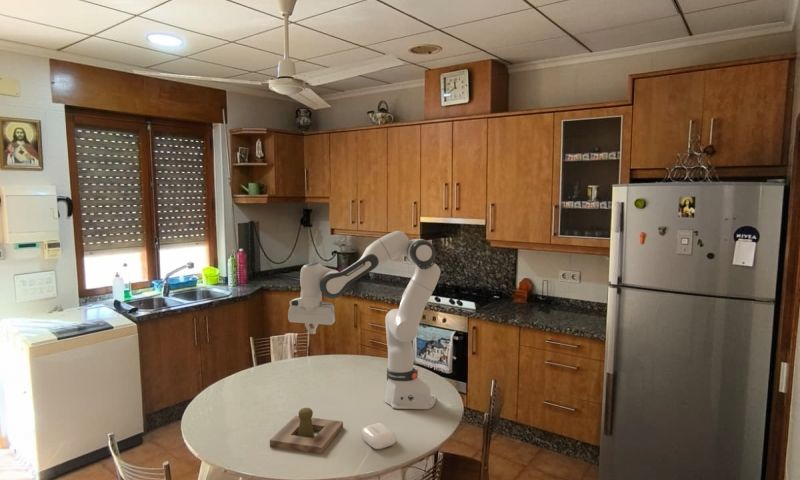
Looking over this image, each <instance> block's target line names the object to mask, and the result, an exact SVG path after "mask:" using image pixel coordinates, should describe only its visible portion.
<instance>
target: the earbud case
mask: <svg viewBox="0 0 800 480" xmlns="http://www.w3.org/2000/svg"><path fill="white" fill-rule="evenodd" d="M360 433H361V438H362V439H363V441H364V442H365V443H366V444H368V446H370V447H371V449H372V448H373V449H374V450H382V449H386V448H388V447H390V446H393V445H394V444H396V441H397V436H396V433H395V431H393V430H392V429H391V428H389V427H388V426H387V425H386V424H385V423H382V422H377V423H372V424H370V425H366V426H364V427H363V428H362V429H361V432H360Z"/></svg>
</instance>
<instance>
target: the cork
mask: <svg viewBox="0 0 800 480" xmlns="http://www.w3.org/2000/svg"><path fill="white" fill-rule="evenodd" d="M313 413H314V412H313V409H312V408H310V407H302V408H301V409H299V411H298V416H299V418H300V424H299V432H298V434H297V436H302V437H309V438H315V437H314V436H315V431H313V426H312V419H311V418H313Z"/></svg>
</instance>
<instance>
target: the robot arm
mask: <svg viewBox="0 0 800 480" xmlns="http://www.w3.org/2000/svg"><path fill="white" fill-rule="evenodd" d="M402 256H403V257H405V258H406V259H407V260H408V261H409V262H411V263H413V264H414V265H415V269H414V274H413V275H412V277H411V278H410V280H409V282H408V284H407V286H406V287H405V289H404V291H403V293H402V295H401V299H400V303H399V307H398V308H392V309H391V310H390V309H389V311H388V312H387V313H386V314H385V318H384V323H385V335H386V346H387V367H386V381H387V383H386V389H385V391H386V392H385V394H384V400H383V401H384V402H385V403H386V404H388V405H390V406H391V408H393V409H399V410H400V409H402V410H404V409H405V410H430V409H432V408H433V407H434V405H436V402H437V401H436V398H437V397H436V396H435V395H434V394H431V389H430V385H429V384H428V383H426V382H425V381H424V380H422V379H421V378H420V377H419V375H418V374H419V369H418V368H416V369H415V367H414V349H413V344H412V341H414V340H416V338H417V336H418V333H419V331H418V330H419V325H420V322H421V320H422V317H423V313H424V310H425V308H426V306H427V304H428V302H429V299H430V298H431V296H432V295H433V292H434V291H435V289H436V286H437V285H438V282H439V278H440V276H441V268H440V267H439V266H438V264H436V259H435V257H436V250H435V247H434V246H433V244H432V243H431V242H430V241H429V240H427V239H423V238H409V237H408V236H407V235H406V233H404V232H403V231H401V230H395V231H392V232H390V233H389V232H388V234H386V235H383V236H381V237H380V238H378V239H376V240H375V241H373V242H372V243H370V244H369V245H368V246H367V247H366V248H365V250H364V252H363V254H362V255H361V256H360V258H359V259H358V260H357V261H356V262H354V263H352V264H351V265H350V266H347V267H346V268H344V269H343V270H341V271H338V270H336V269H333V268H330V267H329V268H328V267H327V266H324V265H322V264H321V263H320V262H316V261H315V262H308V263H306V264H304V265H303V266H302V267H301V269H300V273H299V275H300V276H299V282H300V283H299V285H300V296H298V297H296V298H293V299H291V300H289V302H288V303H289V307H288V310H287V311H288V312H287V320H288V321H289V323H295V324H296V323H299V324H304V326H305V328H306V330H307V334H308V335H309V334H311V335H315V334H316V332H317V328H318V326H319V325H327V326H331V325H333V324H334V323H335V322H336V316H335V311H336V310H335V309H336V308H335V305H334V304H333V303H332V302H330V301H328V302H326V301H323V300H322V299H323V296H325V298H327V299H337V298H340V296H342V295H343V294H344V293H345V291H346V290H347V288H349V286H350V285H351V284H353V283H354V282H356V281H357V280H359V279H361V278H362V277H363V276H366V275H367V274H369V273H371V272H372V271H374V270H376V269H379V268H381V267H383V266H385V265H388V264H389V263H391V262H392V261H394V260H396V259H397V258H399V257H402ZM311 324H312V327H313V328H312V327H311V326H310V325H311Z"/></svg>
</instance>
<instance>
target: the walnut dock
mask: <svg viewBox="0 0 800 480" xmlns="http://www.w3.org/2000/svg"><path fill="white" fill-rule="evenodd" d="M311 419H312V426H313V432H318V433H317V434H316V436H315V437H313V438H309V437H302V436H298V432H299V424H300V418H299V415H294V417H293V418H291V420H289V422H287V423H286V424H285V425H284V426H283V427H282V428H281V429H280V430H279V431H277V432H276V434H274V435H273V436H272V437H271V438H270V439H269V447H270V448H276V449H284V450H289V451H290V450H291V451H297V452H303V453H310V454H317V455H323V453H324V452H325V451H326V450H327V449H328V447H329V446H330V445H331V443H332V442H333V441H334V440H335V438H336V437H337V436H338V435H339V434H340V432H341V431H342V430H343V429H344V421H341V420H340V421H339V420H334V419H326V418H320V417H319V418H318V417H311Z"/></svg>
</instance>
